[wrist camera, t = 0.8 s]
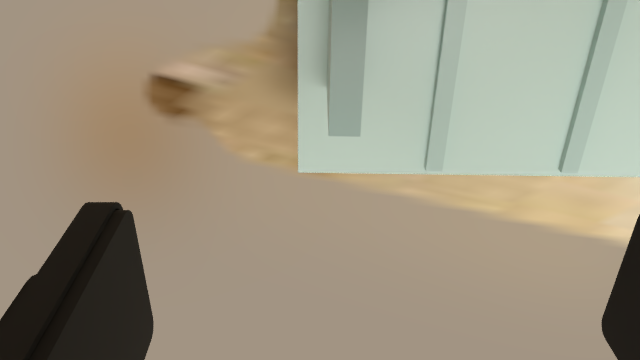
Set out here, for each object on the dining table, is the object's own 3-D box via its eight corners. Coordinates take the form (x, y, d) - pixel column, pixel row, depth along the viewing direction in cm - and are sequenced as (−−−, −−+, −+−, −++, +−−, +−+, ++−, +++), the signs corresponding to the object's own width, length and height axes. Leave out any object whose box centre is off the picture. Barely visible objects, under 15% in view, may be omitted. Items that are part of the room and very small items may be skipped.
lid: (797, -173, 22) (987, -186, 16) (671, 157, 29) (767, 237, 23) (299, -184, 22) (291, -200, 16) (299, 152, 29) (294, 231, 23)
